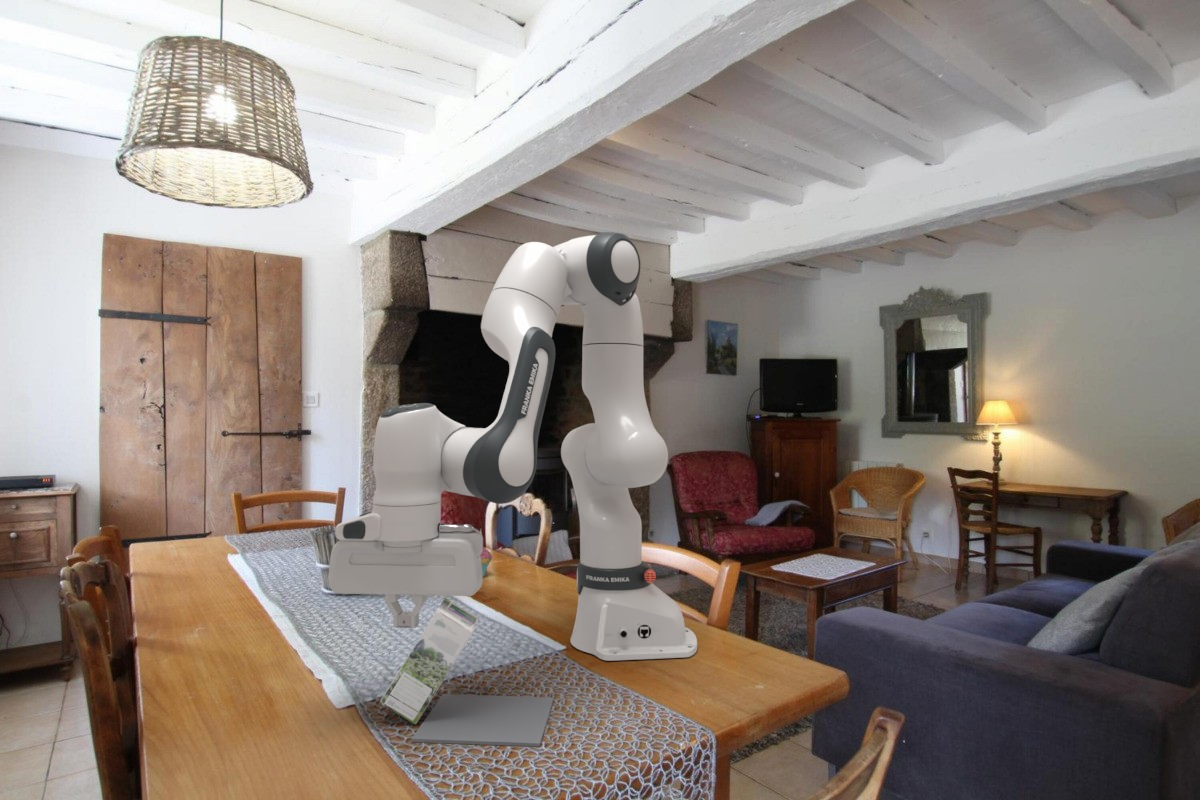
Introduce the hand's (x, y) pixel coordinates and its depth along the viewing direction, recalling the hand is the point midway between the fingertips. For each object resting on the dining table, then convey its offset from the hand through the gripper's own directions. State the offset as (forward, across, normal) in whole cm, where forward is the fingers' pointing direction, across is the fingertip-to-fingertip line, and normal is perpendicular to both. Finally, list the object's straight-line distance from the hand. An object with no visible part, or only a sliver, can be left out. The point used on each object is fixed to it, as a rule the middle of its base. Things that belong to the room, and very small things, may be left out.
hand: (406, 626), depth 88 cm
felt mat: (+12, -11, 0) cm, 16 cm away
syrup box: (+11, 0, 0) cm, 11 cm away
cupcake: (+12, +10, -76) cm, 77 cm away
